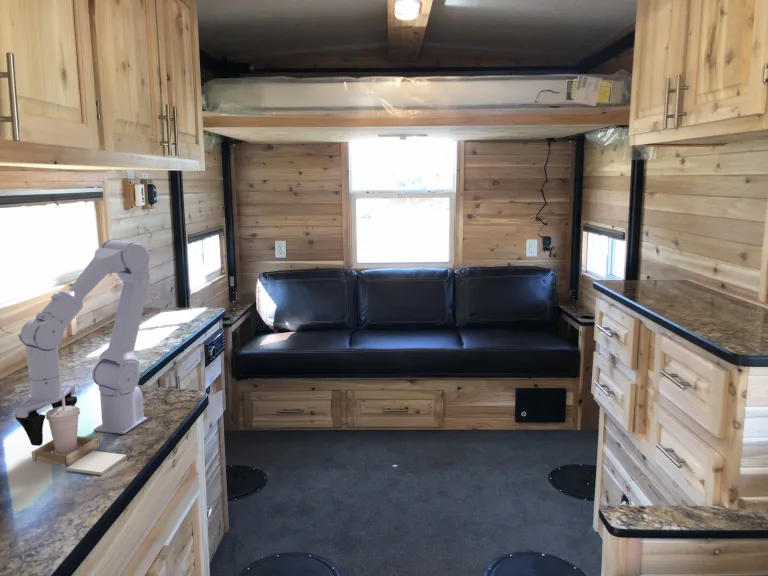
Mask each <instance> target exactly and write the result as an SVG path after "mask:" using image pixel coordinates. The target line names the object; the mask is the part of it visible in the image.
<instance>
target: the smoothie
mask: <svg viewBox="0 0 768 576" xmlns="http://www.w3.org/2000/svg"><path fill="white" fill-rule="evenodd" d="M61 396H62V406H61V407H57V408H54V409H53V408H51V409H49V410H48V411H46V413H45V415H46V416H45V419H46V420H48V425H49V429H50V434H51V436H52V440H53V442H54V446H55V450H54V451H55V453H60V454H67V455H69V454H70V453H72V452H74V451H75V450H77V449H78V447H77V436H78V431H79V430H78V429H79V425H78V424H79V416H80V414H81V411H80V407H78V406H77V405H75V406H65V396H64V390H61Z"/></svg>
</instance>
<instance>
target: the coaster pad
mask: <svg viewBox="0 0 768 576" xmlns="http://www.w3.org/2000/svg"><path fill="white" fill-rule="evenodd" d="M126 458H127V454H124V453H123V454H122V453H121V454H120V453H112V452H106V451H105V452H104V451H97V450H94V451H92V452H90V453H89V454H87V455H86V456H84V457H83V458H81V459H80V460H78V461H76V462H75V463H73V464H72V465H70V466H67V467H66V471H67V472H74V473H81V474H82V473H83V474H90V475H98V476H103V475H104V474H106V473H107V472H108V471H110V470H111V469H113V468H115V467H116V466H117V465H118V464H120V463H121V462H123V461H124V460H125V459H126Z"/></svg>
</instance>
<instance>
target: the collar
mask: <svg viewBox="0 0 768 576" xmlns="http://www.w3.org/2000/svg"><path fill="white" fill-rule="evenodd" d="M99 448H100V440H99V438H94V437H87V436H78V435H77V448H76V450H75V451H74V452H72V453H70V454H69V455H67V454H60V453H56V452H54V451H56V450H55V446H54V442H53V439H52V440H50V441H49V442H47V443H45V444H42V445H40V446H39V447H38V448H36V449H34V450H32V451H31V461H32V462H38V463H44V464H45V463H46V464H53V465H59V466H60V465H61V466H62V465H63V466H67V467H69V466H70V465H72V464H73V463H75V462H76V461H78V460H80V459H81V458H83V457H84V456H86V455H87V454H89V453H90V452H92V451H97V449H99Z"/></svg>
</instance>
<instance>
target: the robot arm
mask: <svg viewBox="0 0 768 576" xmlns="http://www.w3.org/2000/svg"><path fill="white" fill-rule="evenodd" d="M150 259H151V253H150V252H149V250H147V248H146V246H145V245H144V244H143V243H142V242H140V241H137V240H136V241H127V240H118V239H115V238H112V239H111V238H109V239H107V240H105V241H104V242H102V244H101V246H100V247H98V248H97V249H96V250H95V251H94V255H93V258H92V260H91V261H90V262H89V263H88V265H87V266H86V267H85V269H84V270H83V271H82V272H81V273H80V275H79V276H78V277H77V279H76V280H75V281H74V282H73V284H72V285H71V287H69V289H68V290H60V291H58V293H53V295H52V296H51V297H50V299H51V301H49V302H48V303H47V304H46V306H45V307H44V308H43V309H42V310H41V311H40V312H37V314H36V315H35V318H34V319H31V320H28V321H27V322H25V324H23V326H22V327H21V331H20V333H19V334H18V338H19V341H20V342H21V344H22V345H24V346H25V352H26V361H27V372H28V378H29V379H28V380H29V391H30V394H29V395H27V400H26V401H24V402H23V403H22V404H20V405H19V406H17V407H16V408H15V420H16V421H17V422H18V423H19V424H20V426H21V427H22V428H23V430H24V431H25V434H26V435H27V437H28V439H29V442H30V444H31V446H37V447H41V446H43V442H44V441H43V440H44V439H43V438H44V435H43V434H44V433H43V432H44V431H43V430H44V429H43V428H44V423H45V419H46V414H42V413H41V414H39V412H38V411H39V410H40V409H43V408H44V407H47V406H49V405H50V406H51V407H52V409H54V408H57V407H61V406H62V396H61V390H64V396H65V406H76V404H77V403H78V397H77V396H73V395H76V390H75V389H76V388H75V387H76V386H75V385H74V384H73V385H72V384H71V385H70V384H65V385H63V386H62V382H61V381H62V380H61V372H60V371H61V370H60V369H61V368H60V359H59V358H60V357H59V347H58V346H59V345H60V344H61V343H62V341H63V338H64V332H65V331H66V328H67V327H68V326H69V325H70V324H71V322H72V321H73V320H74V319H75V318H76V316H77V315H78V314H79V313H80V312H81V311H82V309H83V307H84V304H83V299H85V297H86V296H87V295H89V294H90V293H91V292H92V291H93V289H94V288H96V286H98V285H99V283H100V282H101V281H103V279H105V278H106V276H108V275H110V274H115V273H116V274H117V275H118V277H119V278H120V279H121V280H122V282H123V283H122V289H121V291H120V292H121V293H120V297H119V300H118V301H119V302H118V306H117V310H116V314H115V318H114V323H113V326H112V327H113V328H112V332H111V335H110V341H109V344H108V348H106V349H105V350H104V351H102V352H101V353H100V354H99V358H98V362H97V363H96V364H95V366H94V368H93V370H92V373H91V376H92V380H93V382H94V383H95V385H97V386H98V391H99V396H100V399H99V400H100V410H101V422H102V423H101V424H100V425H98V426H95V428H94V429H93V431H95V432H101V433H102V432H103V433H112V434H119V435H124V434H127V433H128V432H130V431H131V430H132V429H134V428H136V427H137V426H139V425H141V424H142V423H143V422H145V421H146V420H148V417H147V416H144V398H143V393H142V390H141V388H140V387H139V386H138V384H139V382H140V372H139V371H140V370H139V366H140V360H139V358H138V357H137V356H136V354H135V352H134V351H135V347H136V343H137V342H136V341H137V337H138V333H139V331H140V330H139V329H140V325H141V320H142V316H143V311H144V307H145V302H146V299H147V298H146V297H147V294H148V293H147V292H148V291H149V290H148V289H149V285H150V279H151V277H150V270H149V269H150V268H149V265H150V264H149V262H150Z"/></svg>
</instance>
